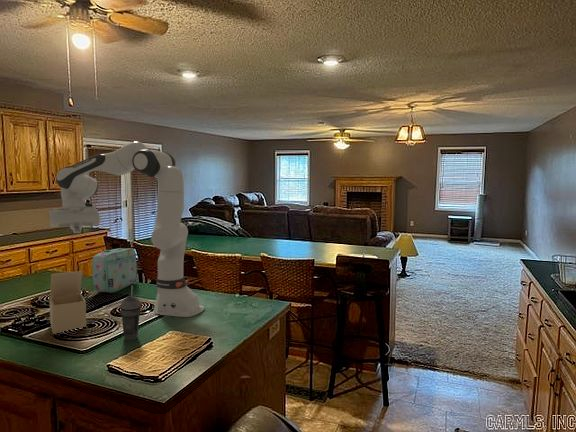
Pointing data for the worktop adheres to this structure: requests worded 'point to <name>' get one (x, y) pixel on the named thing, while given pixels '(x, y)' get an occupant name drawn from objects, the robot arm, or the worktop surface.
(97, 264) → the lunch box
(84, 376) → the worktop surface
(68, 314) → the mailer box
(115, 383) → the worktop surface
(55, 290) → the lid
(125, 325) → the beverage cup
